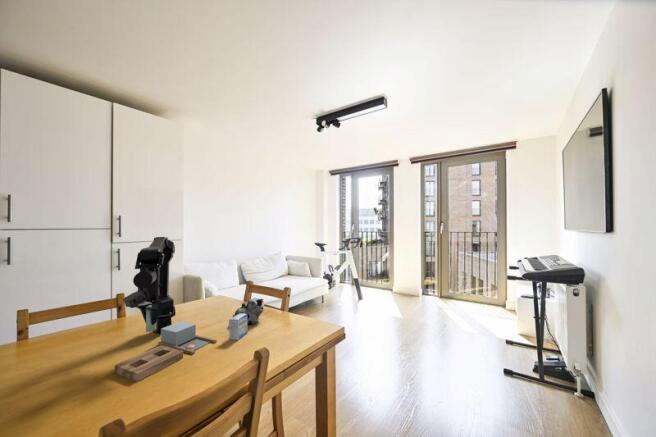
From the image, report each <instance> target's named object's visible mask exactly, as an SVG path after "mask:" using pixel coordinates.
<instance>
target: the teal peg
mask: <svg viewBox="0 0 656 437" xmlns="http://www.w3.org/2000/svg"><path fill="white" fill-rule="evenodd" d="M150 307H151V305H150V306H147V307H146V308H150ZM155 329H156V323H155V324H154V325H151V318H150V311H148V310H147V309H146V323H145V332H146V333H149V332H151V333H152V331H154V330H155Z"/></svg>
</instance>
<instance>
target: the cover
mask: <svg viewBox="0 0 656 437" xmlns="http://www.w3.org/2000/svg"><path fill="white" fill-rule="evenodd" d="M196 329H197V328H196V323H191V322H186V321H183V320H181V321H178V322H176V323H173V324H172V325H170V326H167V327H164V328H162V329H161V334H160V342H163V343H167V344H171V345H175V346H178V347H179V346H181V345H183V344H186V343H188V342H190V341H192V340H194V339H196V338H195V337H196V335H197V334H196Z"/></svg>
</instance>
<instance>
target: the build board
mask: <svg viewBox="0 0 656 437" xmlns="http://www.w3.org/2000/svg"><path fill="white" fill-rule="evenodd" d="M182 359H184V352H183V351H181V350H177V349H173V348H170V347H166V346H163V345H161V346H160V345H157V346H156V347H154V348H151V349H149V350H147V351H145V352H143V353H140V354H138V355H136V356H133V357H130V358H129V359H126V360H124V361H121V362H119V363H117V364H115V365H114V369H113V370H114V374H116V375H119V376H121V377H124V378H127V379H129V380H132V381H134V382H140V381H142V380H144V379H145V378H147V377H148V376H151V375H153V374H154V373H156V372H158V371H160V370H163V369H164V368H167V367H169V366H171V365H172V364H174V363H177V362H179V361H181V360H182Z"/></svg>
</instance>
